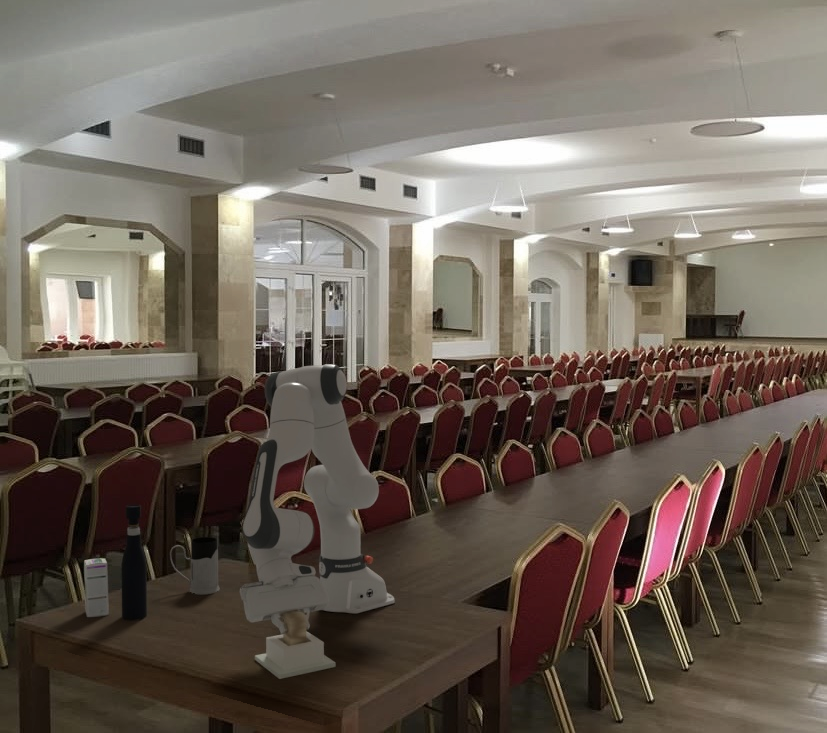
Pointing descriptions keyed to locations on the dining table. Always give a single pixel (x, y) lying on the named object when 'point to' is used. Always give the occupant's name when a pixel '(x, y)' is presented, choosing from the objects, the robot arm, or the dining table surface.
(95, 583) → the syrup box
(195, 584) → the grey mug
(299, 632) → the tan tall wooden block
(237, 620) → the dining table surface
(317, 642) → the white socket base
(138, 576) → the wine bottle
